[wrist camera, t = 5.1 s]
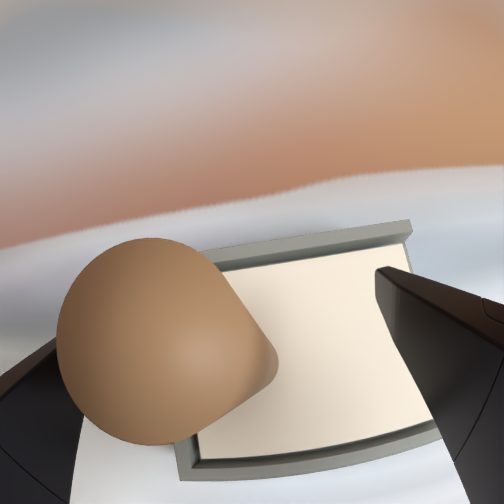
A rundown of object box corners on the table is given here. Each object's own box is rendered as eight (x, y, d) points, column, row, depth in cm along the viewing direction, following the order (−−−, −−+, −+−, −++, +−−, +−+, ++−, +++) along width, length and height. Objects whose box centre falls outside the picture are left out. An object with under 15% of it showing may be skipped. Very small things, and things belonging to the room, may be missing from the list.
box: (202, 459, 14) (180, 480, 11) (183, 281, 18) (158, 258, 14) (420, 424, 14) (451, 434, 10) (388, 248, 17) (409, 219, 14)
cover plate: (206, 453, 12) (45, 573, 2) (189, 284, 15) (35, 131, 5) (426, 415, 12) (622, 447, 1) (396, 251, 15) (512, 71, 4)
